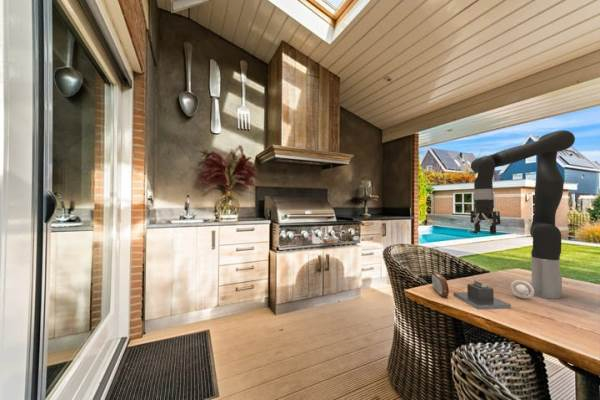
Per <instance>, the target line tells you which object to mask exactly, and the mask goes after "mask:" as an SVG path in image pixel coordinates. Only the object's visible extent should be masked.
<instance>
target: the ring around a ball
mask: <svg viewBox="0 0 600 400" xmlns="http://www.w3.org/2000/svg"><path fill="white" fill-rule="evenodd" d="M518 283H519V284H518ZM516 284H517V285H516ZM515 285H516V286H515ZM514 286H515V287H514ZM529 289H530V290H529ZM510 290H511V292H512V294H514V295H515V297H518V298H520V299H525V300H527V299H531V298H532V297H533V296H534V295H535V294H534V289H533V287H532V284H530V283H529V282H528V281H526V280H522V279H517V280H514V281H512V282H511V284H510ZM529 291H530V293H529ZM527 294H528V295H527Z"/></svg>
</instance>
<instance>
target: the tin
mask: <svg viewBox="0 0 600 400" xmlns="http://www.w3.org/2000/svg"><path fill="white" fill-rule="evenodd" d="M431 284H432V288H433V290H434V291H435V292H436V293H437V294H438V295H439V296H440V297H448V296H449V292H450V291H449V290H450V289H449V288H450V287H449V284H448V281H447V279H446V277H444V276H443V275H442V274H441V273H439V272H433V273H432V274H431Z"/></svg>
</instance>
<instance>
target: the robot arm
mask: <svg viewBox="0 0 600 400" xmlns="http://www.w3.org/2000/svg"><path fill="white" fill-rule="evenodd" d="M575 141H576V137H575V134H574V133H573V132H571V131H568V130H562V129H561V130H556V131H552V132H549V133H546V134H544V135H542V136H540V137H539V138H538V140H535V141H533V142H529V143H525V144H521V145H517V146H513V147H510V148H507V149H504V150H501V151H497V152H495V153H493V154H489V155H484V156H481V157H478V158H475V159H473V160H472V162H471V164H470V169H471V171H472V172H475V173H477V176H476V177H475V178H474V179H473V187H474V188H473V189H474V191H473V203H474V204H473V205H474V206H473V207H474V209H475V210H470V223H471V224H473V225H474V232H475V233H481V222H482V221H486V222H487V223H488V224H489V234H491V235H495V234H497V226H498V225H501V216H500V214H501V213H500V211H498V210H493V209H495V199H494V198H495V197H494V189H493V187H494V186H493V178H494V174H495V171H496V168H499V167H504V166H508V165H510V164H514V163H517V162H520V161H523V160H525V159H529V158H532V157H535V156H536V157H537V158H536V159H537V160H536V161H537V166H536V177H535V179H536V180H535V185H534V198H533V199H534V200H533V201H534V202H533V203H534V204H533V206H534V213H533V217H532V222H531V225H530V229H529V233H530V236H531V237H532V249H531V251H530V252H531V253H530V254H531V286H532V287H533V289H534V295H536V296H538V297H541V298H546V299H551V300H552V299H553V300H558V299H560V298H563V281H562V280H563V278H562V275H561V273H560V272H561V267H560V265H561V263H560V259H561V258H560V257H561V254H562V233H561V232H562V231H561V230H560V228H558V227H557V226H556V214H557V211H558V209H559V206H560V204H561V200H562V197H563V193H564V185H565V182H564V177H563V175H562V173H561V171H560V170H559V168H558V165H557V156H558V152H563V151H566V150H568V149H569V148H571V147H572V146H574V143H575Z"/></svg>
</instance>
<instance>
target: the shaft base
mask: <svg viewBox="0 0 600 400" xmlns="http://www.w3.org/2000/svg"><path fill="white" fill-rule="evenodd" d="M473 281H474V282H473V284H474V286H476V287H479V288H486V286H487V282H485V281H481V280H477V279H476V280H473ZM453 297H454V298H457V299H459V300H460V301H463V303H464V302H465V303H466V304H468V305H470V306H471V307H474V308H475V309H477V310H486V309H488V310H489V309H490V310H491V309H492V310H493V309H494V310H495V309H511V308H512V307H511V305H512V304H510V303H508V302H506V301H503V300H502V299H500V298H497V297H495V296H494V301H478V300H476V299H474V298H472V297H470V296H468V291H466V292H465V291H464V292H463V291H461V292H460V291H459V292H458V291H457V292H453Z"/></svg>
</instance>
